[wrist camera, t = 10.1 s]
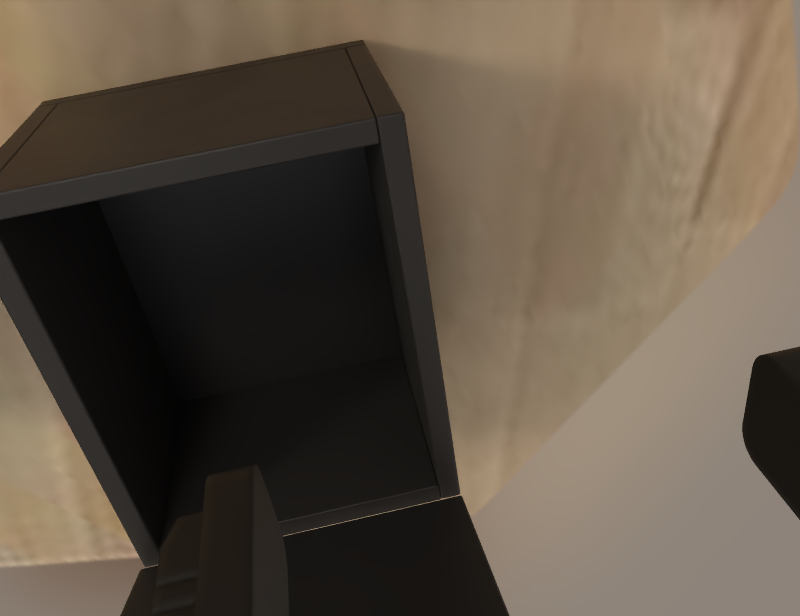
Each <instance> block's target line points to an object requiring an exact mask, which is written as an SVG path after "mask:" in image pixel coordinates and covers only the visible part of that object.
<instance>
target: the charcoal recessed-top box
mask: <svg viewBox="0 0 800 616" xmlns="http://www.w3.org/2000/svg"><path fill="white" fill-rule="evenodd" d="M0 298H1V300H2V301H3V303H4V305H5V307H6V309H7V311H8V313H9V315H10V316H11V318H12V320H13V322H14V324H15V326H16V328H17V329H18V331H19V333H20V335H21V337H22V339H23V341H24V342H25V344H26V346H27V348H28V350H29V352H30V354H31V356H32V357H33V359H34V361H35V363H36V365H37V367H38V369H39V370H40V372H41V374H42V376H43V378H44V380H45V382H46V383H47V385H48V387H49V389H50V391H51V393H52V395H53V397H54V398H55V400H56V402H57V404H58V406H59V408H60V410H61V411H62V413H63V415H64V417H65V419H66V421H67V423H68V424H69V426H70V428H71V430H72V432H73V434H74V436H75V438H76V439H77V441H78V443H79V445H80V447H81V449H82V451H83V452H84V454H85V456H86V458H87V460H88V462H89V464H90V465H91V467H92V469H93V471H94V473H95V475H96V477H97V479H98V480H99V482H100V484H101V486H102V488H103V490H104V492H105V493H106V495H107V497H108V499H109V501H110V503H111V505H112V506H113V508H114V510H115V512H116V514H117V516H118V518H119V519H120V521H121V523H122V525H123V527H124V529H125V531H126V533H127V534H128V536H129V538H130V540H131V542H132V544H133V546H134V547H135V549H136V551H137V553H138V555H139V557H140V559H141V560H142V562H143V564H144V566H145V567H148V566H152V565H157V564H158V562H159V555H160V549H161V547H162V545H163V543H164V542H165V540H166V538H167V536H168V535H169V533H170V531H171V529H172V528H173V526H174V524H175V522H176V520H177V519H178V517H182V516H187V515H191V514H196V513H200V512H203V508H204V496H205V484H206V479H207V476H208V475H210V474H215V473H219V472H224V471H228V470H233V469H237V468H242V467H247V466H251V465H257V466H258V467H259V469H260V472H261V474H262V477H263V480H264V483H265V486H266V488H267V491H268V494H269V497H270V500H271V503H272V505H273V508H274V511H275V514H276V517H277V520H278V522H279V525H280V528H281V532H282V536H284V535H288V534H292V533H297V532H301V531H305V530H310V529H314V528H318V527H323V526H327V525H331V524H336V523H340V522H344V521H349V520H353V519H357V518H362V517H366V516H370V515H375V514H379V513H383V512H388V511H392V510H396V509H401V508H405V507H409V506H414V505H418V504H422V503H427V502H431V501H435V500H440V499H441V498H447V497H451V496H455V495H459V494H460V488H459V482H458V475H457V468H456V461H455V455H454V448H453V441H452V434H451V427H450V421H449V414H448V407H447V400H446V394H445V387H444V380H443V373H442V367H441V360H440V353H439V346H438V339H437V333H436V326H435V319H434V312H433V306H432V299H431V292H430V285H429V278H428V272H427V265H426V258H425V251H424V245H423V238H422V231H421V224H420V218H419V211H418V204H417V197H416V190H415V184H414V177H413V170H412V163H411V157H410V150H409V143H408V136H407V130H406V123H405V116H404V113H403V111H402V109H401V107H400V105H399V104H398V102H397V100H396V98H395V97H394V95H393V93H392V91H391V89H390V88H389V86H388V84H387V82H386V81H385V79H384V77H383V75H382V73H381V72H380V70H379V68H378V66H377V65H376V63H375V61H374V59H373V57H372V56H371V54H370V52H369V50H368V49H367V47H366V45H365V43H364V42H363V40H360V41H355V42H350V43H344V44H339V45H334V46H329V47H324V48H318V49H313V50H308V51H303V52H298V53H293V54H287V55H282V56H277V57H272V58H267V59H261V60H256V61H251V62H246V63H241V64H236V65H230V66H225V67H220V68H215V69H210V70H205V71H199V72H194V73H189V74H184V75H179V76H173V77H168V78H163V79H158V80H153V81H148V82H142V83H137V84H132V85H127V86H122V87H117V88H111V89H106V90H101V91H96V92H91V93H85V94H80V95H75V96H70V97H65V98H60V99H54V100H49V101H44V102H42V103H41V105H40V106H39V107H38V108H37V109H36V110H35V111H34V112H33V113H32V114H31V115H30V116H29V117H28V119H27V120H26V121H25V122H24V123H23V124H22V125H21V126H20V127H19V128H18V129H17V130H16V132H15V133H14V134H13V135H12V136H11V137H10V138H9V139H8V140H7V141H6V142H5V144H4V145H3V146H2V147H1V148H0Z"/></svg>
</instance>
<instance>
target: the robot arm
mask: <svg viewBox="0 0 800 616" xmlns="http://www.w3.org/2000/svg"><path fill="white" fill-rule="evenodd" d="M742 432H743V438H744V442H745V446H746V448H747V451H748V453H749V455H750V457H751V459H752V460H753V462H754V463H755V465H756V466H757V467H758V468H759V470H760V471H761V472H762V473H763V475H764V476H765V477H766V478H767V479H768V481H769V482H770V483H771V485H772V486H773V487H774V488H775V490H776V491H777V492H778V493H779V495H780V496H781V497H782V498H783V500H784V501H785V502H786V503H787V505H788V506H789V507H790V508H791V510H792V511H793V512H794V513H795V515H796V516H797V517H798V518H799V520H800V347H796V348H791V349H787V350H783V351H778V352H773V353H769V354H765V355H760V356H758V357H757V358H756V359H755V361H754V363H753V367H752V373H751V378H750V384H749V390H748V396H747V401H746V407H745V413H744V419H743V426H742ZM156 585H157V587H156V588H155V590H154V597H153V604H152V611H153V616H289V596H288V570H287V558H286V551H285V545H284V540H283V536H282V532H281V528H280V525H279V522H278V520H277V517H276V514H275V511H274V508H273V505H272V503H271V500H270V497H269V494H268V491H267V488H266V486H265V483H264V480H263V477H262V474H261V472H260V469H259V467H258V466H257V465H251V466H247V467H242V468H237V469H233V470H228V471H224V472H219V473H215V474H210V475H208V476H207V479H206V484H205V496H204V508H203V512H200V513H196V514H191V515H187V516H182V517H178V519H177V520H176V522H175V524H174V526H173V528H172V529H171V531H170V533H169V535H168V536H167V538H166V540H165V542H164V543H163V545H162V547H161V549H160V555H159V562H158V569H157V576H156Z"/></svg>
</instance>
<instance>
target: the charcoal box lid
mask: <svg viewBox="0 0 800 616" xmlns="http://www.w3.org/2000/svg"><path fill="white" fill-rule="evenodd" d="M283 540H284V545H285V551H286V558H287V570H288V596H289V616H509V614H508V611H507V608H506V606H505V603H504V601H503V598H502V596H501V593H500V591H499V588H498V586H497V583H496V581H495V578H494V576H493V573H492V571H491V568H490V566H489V563H488V561H487V558H486V555H485V553H484V550H483V548H482V546H481V543H480V540H479V538H478V535H477V533H476V530H475V528H474V525H473V523H472V520H471V518H470V515H469V513H468V510H467V508H466V505H465V503H464V500H463V498H462V496H456V497H452V498H448V499H444V500H439V501H435V502H431V503H426V504H422V505H418V506H413V507H409V508H405V509H400V510H396V511H392V512H387V513H383V514H379V515H374V516H370V517H366V518H361V519H357V520H353V521H348V522H344V523H340V524H335V525H331V526H327V527H322V528H318V529H314V530H309V531H305V532H301V533H296V534H292V535H288V536H284V537H283ZM157 569H158V566H154V567H150V568H145V569H142V570H140V572H139V574H138V577H137V579H136V581H135V584H134V586H133V588H132V591H131V593H130V595H129V597H128V600H127V602H126V604H125V606H124V609H123V611H122V613H121V615H120V616H153V611H152V604H153V597H154V590H155V588H156V587H157V585H156V576H157Z"/></svg>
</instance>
